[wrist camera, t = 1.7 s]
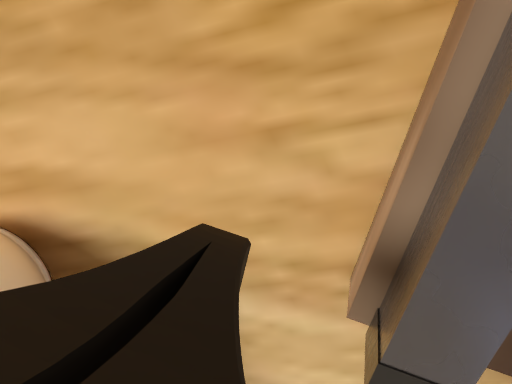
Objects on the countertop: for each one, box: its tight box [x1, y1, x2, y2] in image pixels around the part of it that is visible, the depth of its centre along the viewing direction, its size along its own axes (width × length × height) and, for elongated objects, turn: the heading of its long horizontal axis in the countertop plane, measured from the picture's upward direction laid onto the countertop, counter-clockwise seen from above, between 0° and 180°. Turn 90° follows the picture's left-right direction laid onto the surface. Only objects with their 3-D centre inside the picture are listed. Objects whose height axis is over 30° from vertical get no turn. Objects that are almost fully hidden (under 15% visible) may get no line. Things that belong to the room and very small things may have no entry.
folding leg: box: [364, 12, 512, 384], centre depth 10 cm, size 11×2×2 cm, turn 167°
